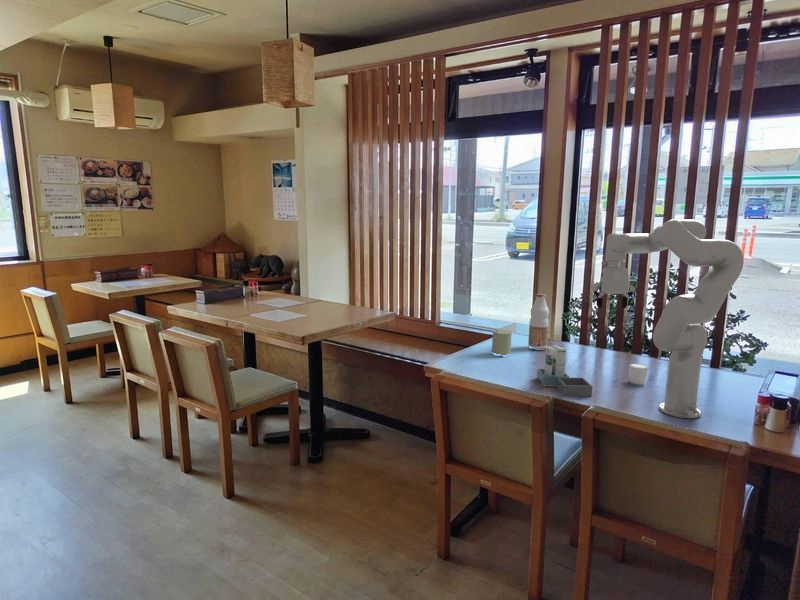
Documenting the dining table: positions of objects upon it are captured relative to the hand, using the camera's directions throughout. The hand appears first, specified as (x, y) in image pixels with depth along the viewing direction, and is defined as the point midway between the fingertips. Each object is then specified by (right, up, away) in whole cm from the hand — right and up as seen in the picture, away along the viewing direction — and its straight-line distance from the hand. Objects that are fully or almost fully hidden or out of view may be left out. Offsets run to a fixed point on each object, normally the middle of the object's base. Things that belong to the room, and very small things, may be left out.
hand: (611, 307), depth 203 cm
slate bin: (-23, -30, +1) cm, 38 cm away
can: (-36, -24, +42) cm, 60 cm away
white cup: (+12, -31, +3) cm, 33 cm away
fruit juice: (-15, -22, +54) cm, 60 cm away
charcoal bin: (-19, -32, -10) cm, 38 cm away
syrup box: (-23, -30, +1) cm, 38 cm away
